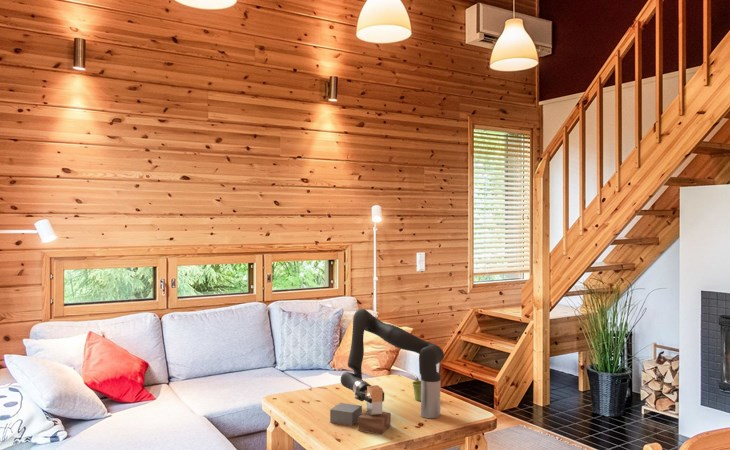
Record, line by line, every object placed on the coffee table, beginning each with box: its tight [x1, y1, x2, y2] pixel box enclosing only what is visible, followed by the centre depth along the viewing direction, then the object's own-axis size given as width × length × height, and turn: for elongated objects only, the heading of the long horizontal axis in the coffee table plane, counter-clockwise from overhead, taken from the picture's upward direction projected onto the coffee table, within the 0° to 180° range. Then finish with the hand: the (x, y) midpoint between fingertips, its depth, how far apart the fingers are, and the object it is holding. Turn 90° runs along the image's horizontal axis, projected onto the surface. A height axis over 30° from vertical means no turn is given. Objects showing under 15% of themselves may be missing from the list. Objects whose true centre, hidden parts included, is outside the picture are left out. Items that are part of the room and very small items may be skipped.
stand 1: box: [329, 402, 363, 427], centre depth 276 cm, size 11×11×6 cm
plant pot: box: [411, 380, 421, 402], centre depth 308 cm, size 9×9×9 cm
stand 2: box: [357, 410, 392, 435], centre depth 265 cm, size 11×11×6 cm
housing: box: [366, 384, 384, 415], centre depth 265 cm, size 5×6×11 cm
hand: (376, 400), depth 263 cm, fingers closed on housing, 5 cm apart
